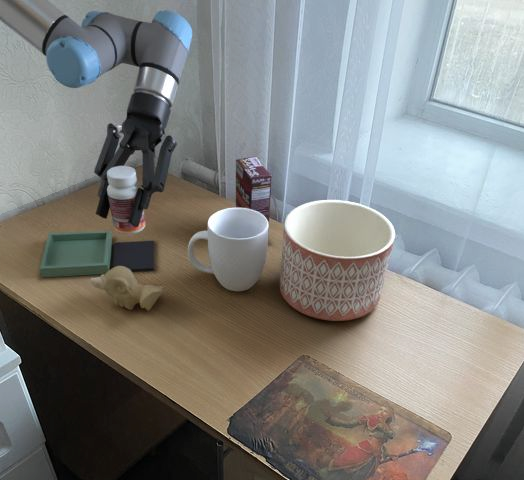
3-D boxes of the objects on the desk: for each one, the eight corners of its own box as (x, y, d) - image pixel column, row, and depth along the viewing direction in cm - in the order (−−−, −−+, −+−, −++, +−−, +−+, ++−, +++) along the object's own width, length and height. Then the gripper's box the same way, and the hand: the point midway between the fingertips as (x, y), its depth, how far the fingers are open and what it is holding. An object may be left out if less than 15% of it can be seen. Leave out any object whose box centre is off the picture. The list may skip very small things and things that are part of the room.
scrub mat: (115, 244, 112) (114, 242, 112) (153, 242, 113) (153, 240, 113) (112, 272, 105) (112, 270, 105) (154, 270, 106) (153, 268, 106)
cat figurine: (153, 295, 91) (90, 264, 91) (142, 329, 94) (81, 299, 94) (171, 280, 98) (112, 251, 98) (159, 311, 101) (103, 284, 101)
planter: (296, 334, 94) (304, 264, 84) (267, 271, 107) (271, 204, 97) (395, 318, 98) (414, 250, 88) (355, 260, 112) (368, 195, 101)
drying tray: (50, 241, 112) (48, 233, 110) (112, 239, 114) (110, 230, 112) (42, 277, 103) (39, 268, 102) (109, 273, 105) (107, 264, 103)
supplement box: (234, 227, 119) (234, 158, 108) (254, 224, 120) (256, 155, 109) (247, 248, 113) (249, 177, 102) (269, 244, 115) (273, 174, 104)
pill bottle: (143, 235, 102) (136, 180, 94) (111, 235, 102) (101, 179, 94) (147, 218, 107) (140, 164, 99) (116, 218, 106) (106, 163, 99)
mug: (185, 296, 101) (181, 235, 92) (193, 262, 109) (190, 204, 100) (264, 300, 101) (267, 240, 92) (266, 266, 109) (269, 208, 100)
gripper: (205, 119, 101) (170, 237, 101) (117, 102, 105) (84, 215, 105) (191, 99, 93) (153, 226, 94) (97, 81, 98) (61, 202, 98)
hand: (117, 220), depth 100 cm, fingers closed on pill bottle, 6 cm apart
